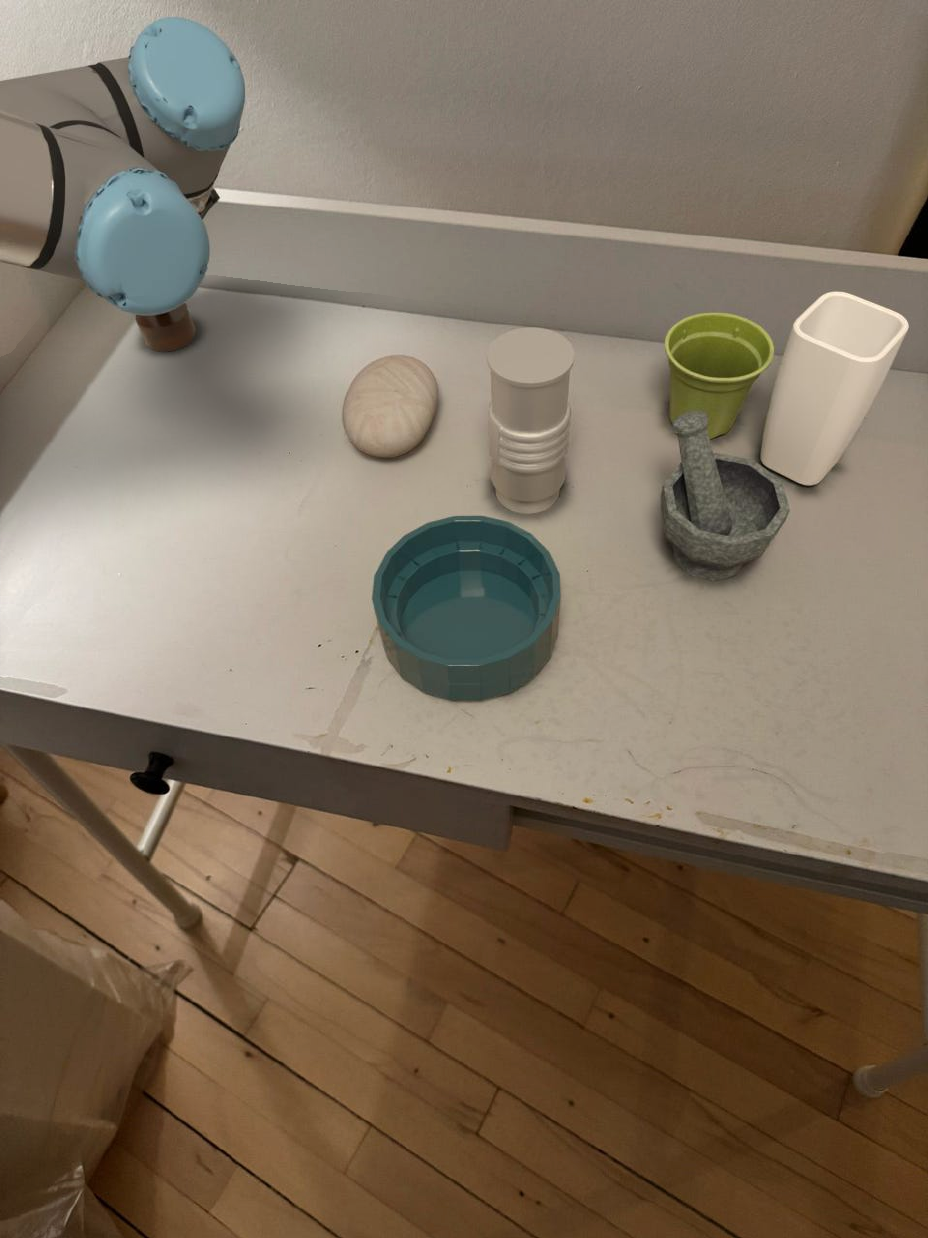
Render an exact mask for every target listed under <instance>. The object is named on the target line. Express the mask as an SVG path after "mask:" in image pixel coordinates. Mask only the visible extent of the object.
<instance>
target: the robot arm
mask: <svg viewBox="0 0 928 1238" xmlns="http://www.w3.org/2000/svg"><path fill="white" fill-rule="evenodd" d="M245 102H246V83H245V79H244V75H243V72H242V68H241V65H240V63H239V62H238V60H237V58H236V56H235V54H234V52H233V51H232V50H231V48H230V47H229V46H228V45H227V44H226V42H225V41H224V40H223V39H222V38H221V37H220V36H219V35H217V34H216V33H215V32H214V31H213V30H211V29H210V28H208V27H207V26H205V25H204V24H201V23H199V22H197V21H194V20H192V19H190V18H186V17H180V16H165V17H161V18H158V19H155V20H153V21H152V22H151V23H150V24H148V25H146V27H144V28H143V29H142V30H141V32H140V33H139V34H138V36H137V37H136V39H135V41H134V45H133V46H131V47H130V49H129V55H128V56H126V57H120V58H115V59H110V60H109V59H108V60H104V61H99V62H96V63H95V64H90V65H84V66H78V67H73V68H67V69H61V70H55V71H50V72H44V73H43V72H42V73H38V74H32V75H27V76H21V77H14V78H9V79H4V80H0V263H1V264H2V263H3V264H7V265H11V266H16V267H17V266H18V267H22V268H26V269H32V270H35V271H40V272H44V273H48V274H53V275H57V276H62V277H67V278H71V279H76V280H81V281H83V282H85V284H86V286H88V288H89V289H90V290H91V291H92V292H93V293H94V294H95V295H97V296H98V297H101V298H103V299H105V300H106V302H108V303H110V304H111V305H113V306H114V307H116V308H117V309H118V310H121V311H123V312H126V313H129V314H132V315H135V316H136V315H142V316H151V315H159V314H163V313H166V312H169V311H171V310H174V309H176V308H177V307H179V306H181V305H182V304H184V303H185V304H186V302H187V301H189V300H190V299H191V298H192V297H193V296H194V295H195V293H196V292H197V291H198V289H199V288H200V286H201V284H202V282H203V280H204V279H205V277H206V273H207V271H208V264H209V261H210V254H211V253H210V249H211V248H210V247H211V245H210V240H209V239H210V238H209V235H208V231H207V227H206V225H205V222H204V219H205V217H206V216H207V214H208V213H209V211H210V209H211V208H213V206H215V204H216V203H218V202H219V200H220V199H221V196H220V195H219V193H218V192H217V190H216V189H215V187H214V185H215V183H216V181H217V179H218V176H219V173H220V171H221V168H222V165H223V164H224V161H225V159H226V157H227V154H228V152H229V150H230V148H231V145H232V144H233V143H234V141H235V140H236V138H237V137H238V135H239V130H240V128H241V120H242V116H243V113H244V108H245Z"/></svg>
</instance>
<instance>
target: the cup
mask: <svg viewBox="0 0 928 1238" xmlns="http://www.w3.org/2000/svg"><path fill="white" fill-rule="evenodd" d="M909 328H910V326H909V322H908V320H907V319H906V318H905V317H904V316H903V315H902V314H901V313H899V312H897V311H894V310H892V309H890V308H887V307H885V306H882V305H879V304H877V303H874V302H872V301H869V300H867V299H864V298H862V297H859V296H858V295H857V296H856V295H854V294H852V293H848V292H845V291H830V292H826V293H824V294H822V295H821V296H819V297H818V298H817V299H816V300H815V301H814V302H813V303H812V304H810V306H808V308H807V309H805V311H804V312H803V313H801V314H800V315H799V316H798V317H797V318H796V319H795V321H794V323H793V324H792V327H791V330H790V333H789V337H788V340H787V342H786V346H785V349H784V351H783V355H782V358H781V360H780V365H779V368H778V371H777V374H776V379H775V382H774V384H773V385H774V386H773V388H772V389H773V390H772V393H771V397H770V401H769V405H768V409H767V412H766V419H765V423H764V429H763V435H762V441H761V449H760V461H761V463H762V464H763V465H764V466H765V467H767V468H768V469H770V470H772V471H773V472H776V473H778V474H780V475H781V476H783V477H786V478H787V479H789V480H792V481H794V482H795V483H798V484H801V485H803V486H814V485H817V484H819V483H820V482H821V481H823V479H824V478H825V477H826V476H827V474H829V472H830V471H831V470H832V469H833V468H834V467H835V465H836V464H837V463H838V462H839V461H840V459H841V457H842V456H843V454H844V453H845V451H846V450H847V448H848V446H849V445H850V443H851V442H852V440H853V438H854V437H855V435H856V434H857V432H858V431H859V428H860V427H861V425H862V423H863V422H864V421H865V419H866V416H867V414H868V412H869V411H870V409H871V407H872V405H873V403H874V402H875V399H876V397H877V395H878V394H879V392H880V390H881V388H882V386H883V384H884V381H885V380H886V378H887V376H888V373H889V371H890V370H891V367H892V365H893V363H894V361H895V358H896V356H897V354H898V352H899V350H900V348H901V345H902V343H903V341H904V339H905V337H906V335H907V332H908V330H909Z"/></svg>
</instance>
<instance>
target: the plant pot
mask: <svg viewBox="0 0 928 1238" xmlns="http://www.w3.org/2000/svg"><path fill="white" fill-rule="evenodd" d="M664 351H665V354H666V356H667V359H668V360H667V361H668V364H669V369H670V370H669V371H670V372H669V373H670V374H669V379H670V381H669V421H670V422H671V423H672V421H673V420H675V419H676V418H677V417H678V416H679V415H682V414H684V413H687V412H692V411H702V412H705V413H706V415H707V417H708V421H709V424H708V426H707V432H708V436H709V439H710V440H712V439H715V438H716V437H719V436H722V435H727V433H728V432H729V431H730V430H731V429H732V428H733V426H734V423H735V421H736V420H737V417H738V415H739V412H740V411H741V409H742V407H743V405H744V403H745V400H746V399H747V397H748V395H749V394H750V391H751V389H752V387H753V385H754V384H755V381H757V380H758V378H759V377H760V376H761V374H762V373H764V372H765V371H766V370H767V369H768V367H769V366H770V365H771V364H772V361H773V359H774V354H775V345H774V343H773V339H772V338H771V336H770V335H769V333H768V332H767V331H766V330H765V328H763V327H761V326H760V324H759V325H758V324H757V323H755V322H754V321H753V320H750V319H749V318H746V317H743V316H739V315H736V314H731V313H725V312H704V313H697V314H693V315H690V316H687V317H685V318H683V319H681V320H679V321H678V322H676V323H675V324H673V326H671V328H670V329H669V330H668V331H667V333H666V336H665V340H664Z"/></svg>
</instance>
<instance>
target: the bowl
mask: <svg viewBox="0 0 928 1238" xmlns="http://www.w3.org/2000/svg"><path fill="white" fill-rule="evenodd" d="M561 597H562V595H561V575H560V572H559V570H558V567H557V565H556V563H555V561H554V558H553V557H552V555H551V552H550V551H549V550H548V549H547V548H546V546H544V545H543V544H542V543H541V542H540V541H539V539H537V538H536V537H535V536H534V535H533V534H532V533H530V532H529V531H527V530H525V529H523V528H521V527H519V526H517V525H516V524H514V523H512V522H510V521H508V520H503V519H498V518H494V517H490V516H485V515H452V516H448V517H445V518H441V519H437V520H433V521H428V522H426V523H424V524H423V525H420V526H419V527H417V528H416V529H413V530H411V531H409V532H408V533H406V534H404V535H403V536H402V537H401V538H400V539H399V540H397V542H396V543H395V544H394V545H392V546H391V548H389V550H387V552H386V553H385V554H384V556H383V558H382V560H381V562H380V564H379V566H378V567H377V570H376V572H375V574H374V576H373V585H372V594H371V600H372V601H371V602H372V605H373V610H374V614H375V618H376V622H377V627H378V630H379V635H380V639H381V642H382V646H383V649H384V653H385V656H386V658H387V660H388V662H389V663H390V664H391V666H392V667H393V668H394V670H395V671H396V673H397V674H398V675H399V676H400V677H401V679H402V680H404V681H406V682H407V683H408V684H410V685H412V686H413V687H415V688H416V689H418V690H419V691H421V692H422V693H424V694H426V695H429V696H433V697H437V698H439V699H443V700H447V701H450V702H482V701H483V702H484V701H487V700H490V699H493V698H498V697H501V696H504V695H507V694H511V693H513V692H514V691H516V690H517V689H519V688H520V687H522V686H524V685H525V684H526V683H529V682H530V681H531V680H532V679H533V680H534V678H535V676H537V674H538V673H539V672H540V670H541V669H542V668H543V667H544V665H545V664H546V663H547V662H548V661H549V659H550V658H551V656H552V653H553V650H554V647H555V643H556V641H557V638H558V633H559V623H560V611H561Z"/></svg>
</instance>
